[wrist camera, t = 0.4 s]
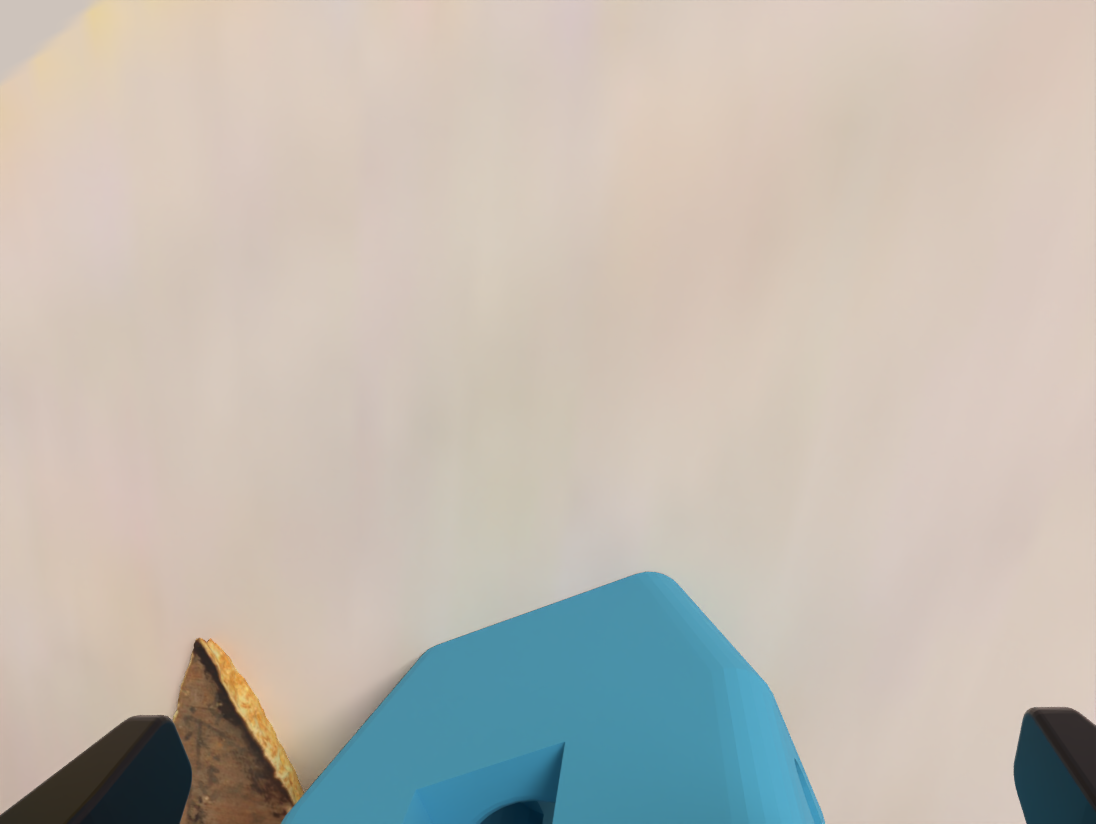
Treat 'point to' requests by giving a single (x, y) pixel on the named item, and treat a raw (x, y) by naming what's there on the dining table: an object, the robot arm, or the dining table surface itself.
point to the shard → (230, 747)
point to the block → (574, 726)
